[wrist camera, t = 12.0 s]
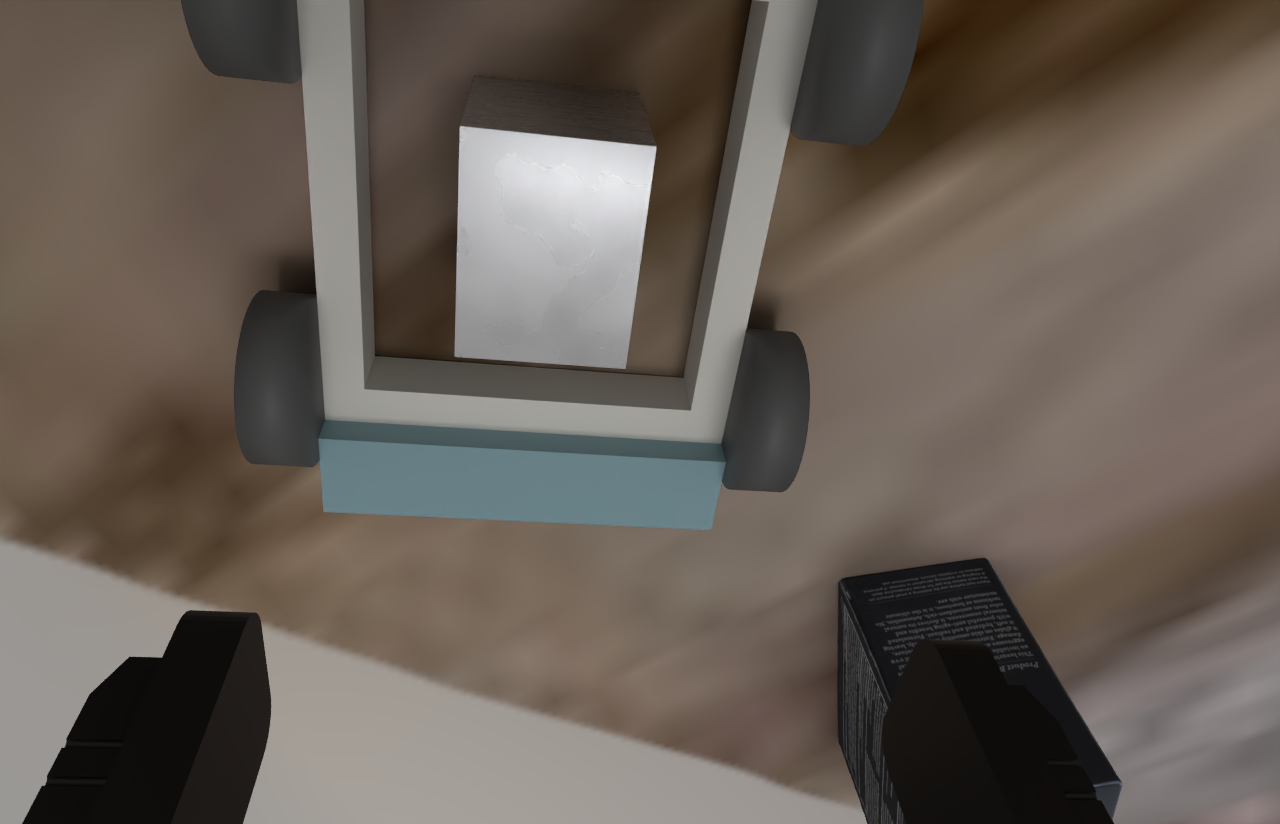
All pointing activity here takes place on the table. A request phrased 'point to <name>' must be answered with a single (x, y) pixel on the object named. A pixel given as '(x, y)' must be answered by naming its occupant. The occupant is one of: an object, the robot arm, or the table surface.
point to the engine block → (550, 221)
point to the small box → (943, 610)
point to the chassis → (529, 396)
